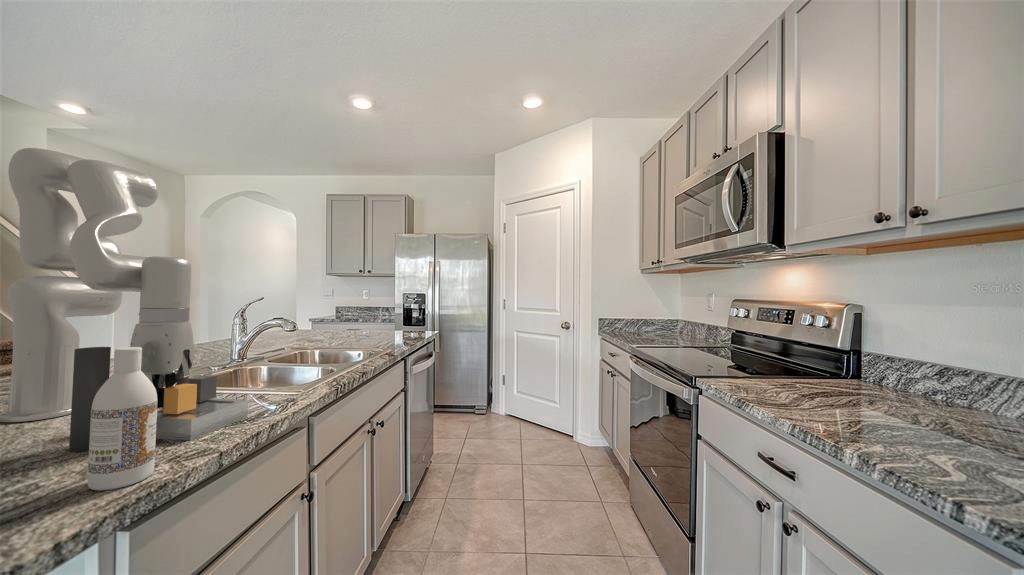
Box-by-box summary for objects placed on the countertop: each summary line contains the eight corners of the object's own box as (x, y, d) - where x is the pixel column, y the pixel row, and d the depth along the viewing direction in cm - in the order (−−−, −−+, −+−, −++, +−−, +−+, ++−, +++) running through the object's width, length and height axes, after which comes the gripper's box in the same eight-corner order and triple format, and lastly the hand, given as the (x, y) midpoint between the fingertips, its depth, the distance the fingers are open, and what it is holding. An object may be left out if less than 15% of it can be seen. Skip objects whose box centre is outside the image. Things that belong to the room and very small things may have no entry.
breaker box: (133, 437, 72) (134, 415, 72) (198, 414, 86) (199, 396, 86) (190, 440, 71) (191, 418, 71) (247, 417, 85) (248, 398, 85)
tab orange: (163, 413, 73) (164, 388, 73) (182, 407, 77) (183, 383, 77) (177, 414, 73) (178, 388, 73) (196, 408, 77) (197, 384, 77)
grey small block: (187, 401, 81) (188, 378, 81) (203, 396, 85) (204, 375, 85) (200, 402, 81) (201, 379, 81) (215, 397, 85) (216, 375, 85)
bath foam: (143, 485, 54) (150, 350, 55) (76, 496, 51) (83, 352, 52) (161, 466, 60) (166, 344, 61) (101, 475, 57) (108, 346, 58)
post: (61, 451, 65) (67, 349, 66) (91, 441, 69) (96, 346, 70) (84, 452, 65) (89, 350, 65) (112, 443, 69) (117, 347, 70)
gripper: (110, 317, 73) (106, 410, 72) (181, 318, 72) (177, 413, 71) (150, 315, 80) (146, 400, 80) (215, 316, 79) (211, 402, 79)
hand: (161, 406), depth 75 cm, fingers closed
